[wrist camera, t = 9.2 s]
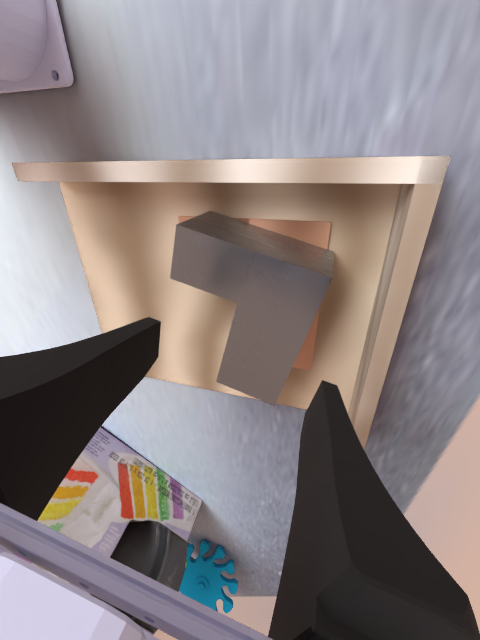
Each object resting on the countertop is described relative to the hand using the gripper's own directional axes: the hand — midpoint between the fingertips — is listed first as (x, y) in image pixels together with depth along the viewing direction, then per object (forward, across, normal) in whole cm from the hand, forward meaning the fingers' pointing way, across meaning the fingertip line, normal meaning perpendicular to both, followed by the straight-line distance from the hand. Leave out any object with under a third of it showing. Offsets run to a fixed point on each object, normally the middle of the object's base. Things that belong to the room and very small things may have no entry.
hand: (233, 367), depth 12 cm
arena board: (+9, +4, +2) cm, 10 cm away
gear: (+10, -2, +44) cm, 45 cm away
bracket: (+9, +1, +1) cm, 9 cm away
